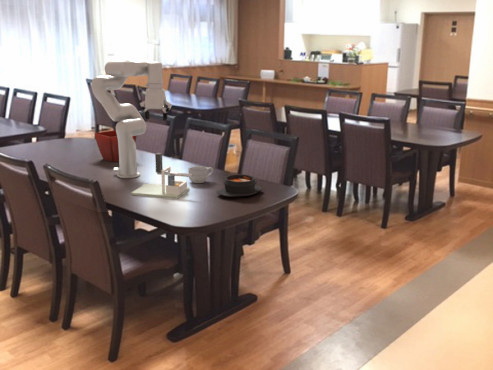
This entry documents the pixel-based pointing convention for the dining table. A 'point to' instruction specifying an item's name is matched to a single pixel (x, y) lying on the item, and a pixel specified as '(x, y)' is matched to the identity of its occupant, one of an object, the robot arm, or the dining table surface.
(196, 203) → the dining table surface
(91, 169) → the dining table surface
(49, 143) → the dining table surface
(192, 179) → the teacup
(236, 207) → the dining table surface
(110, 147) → the plant pot
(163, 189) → the cream platform with frame
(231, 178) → the casserole
